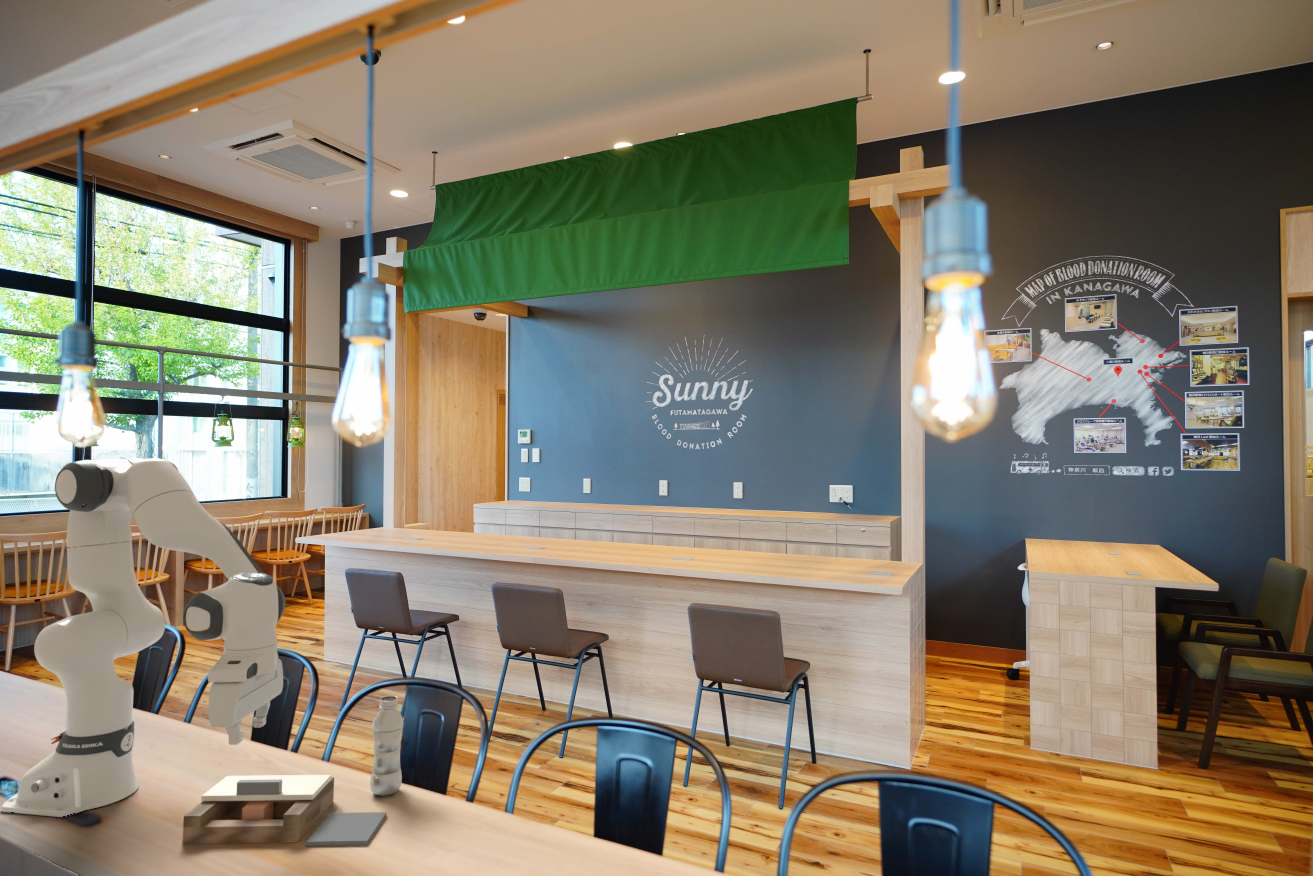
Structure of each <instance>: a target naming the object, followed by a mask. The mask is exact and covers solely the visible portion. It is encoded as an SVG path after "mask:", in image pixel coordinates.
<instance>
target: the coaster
mask: <svg viewBox="0 0 1313 876" xmlns="http://www.w3.org/2000/svg"><path fill="white" fill-rule="evenodd" d="M387 814H388V813H387V811H380V812H379V811H377V812H376V811H375V812H373V811H372V812H370V811H369V812H366V811H365V812H330V813H329V814H328V815H327V817H326V818H324V820H323V822H321V824H320V825H319V826H318V827H317V828H316V830H315V831H314V832H313V833H312V834H311V836H310V837H309V838H307V839H308V840H306V847H329V846H330V847H331V846H332V847H333V846H336V847H339V846H368V845H369V843H370V841H371V840H372V838H373V837H374V835H375V834H376V833H377V831H378V829H379V828H380V826H381V825H382V823H383V822H384V821H385V820H386V818H387Z"/></svg>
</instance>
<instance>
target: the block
mask: <svg viewBox="0 0 1313 876" xmlns="http://www.w3.org/2000/svg"><path fill="white" fill-rule="evenodd" d="M273 810H274V800H257V801H250V802H249V803H248V804H247V805H246V806H245V807H244V808H242V818H241V820H266V819H274V818H273Z"/></svg>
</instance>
